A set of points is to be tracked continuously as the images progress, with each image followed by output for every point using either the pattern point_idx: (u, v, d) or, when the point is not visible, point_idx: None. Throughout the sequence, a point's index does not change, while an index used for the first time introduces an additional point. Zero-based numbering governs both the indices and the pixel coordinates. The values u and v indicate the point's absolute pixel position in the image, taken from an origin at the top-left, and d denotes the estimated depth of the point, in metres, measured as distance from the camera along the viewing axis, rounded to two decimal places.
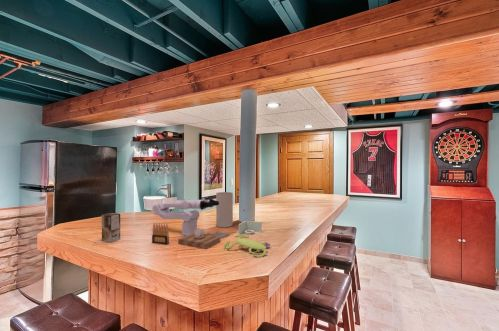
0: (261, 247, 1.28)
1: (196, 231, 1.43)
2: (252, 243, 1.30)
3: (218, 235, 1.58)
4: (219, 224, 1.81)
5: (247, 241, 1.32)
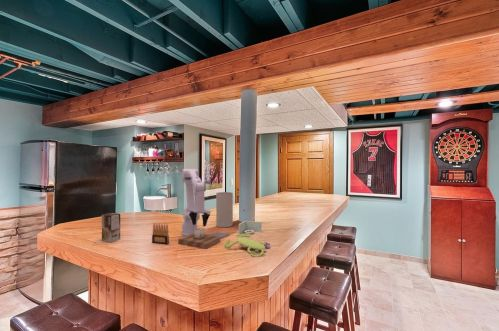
0: (260, 247, 1.28)
1: (196, 231, 1.43)
2: (251, 242, 1.31)
3: (218, 235, 1.58)
4: (219, 224, 1.81)
5: (247, 240, 1.33)
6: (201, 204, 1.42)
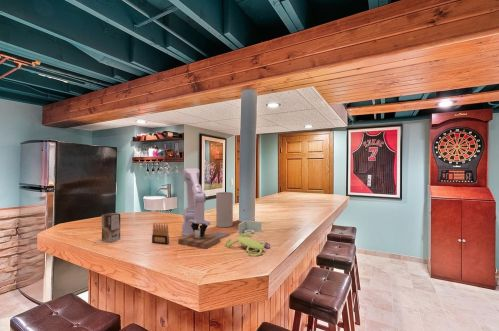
0: (258, 246, 1.29)
1: (196, 231, 1.43)
2: (250, 242, 1.32)
3: (218, 235, 1.58)
4: (219, 224, 1.81)
5: (246, 240, 1.34)
6: (201, 215, 1.42)
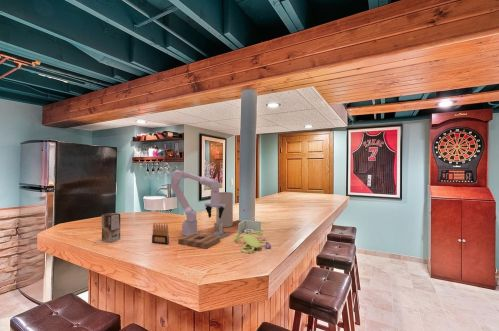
0: (254, 245, 1.32)
1: (216, 224, 1.58)
2: (250, 239, 1.37)
3: None
4: None
5: (248, 237, 1.40)
6: (217, 199, 1.64)
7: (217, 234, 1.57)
